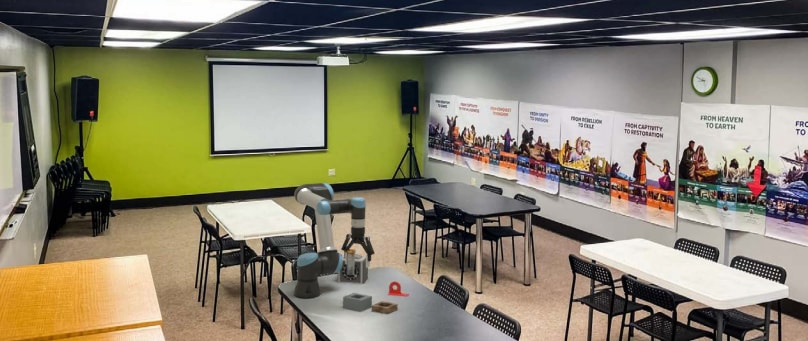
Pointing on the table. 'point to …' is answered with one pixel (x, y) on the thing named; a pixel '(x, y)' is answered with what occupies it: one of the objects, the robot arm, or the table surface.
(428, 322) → the table surface
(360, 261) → the alarm clock
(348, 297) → the block
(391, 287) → the bracket
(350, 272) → the pin
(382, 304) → the frame
